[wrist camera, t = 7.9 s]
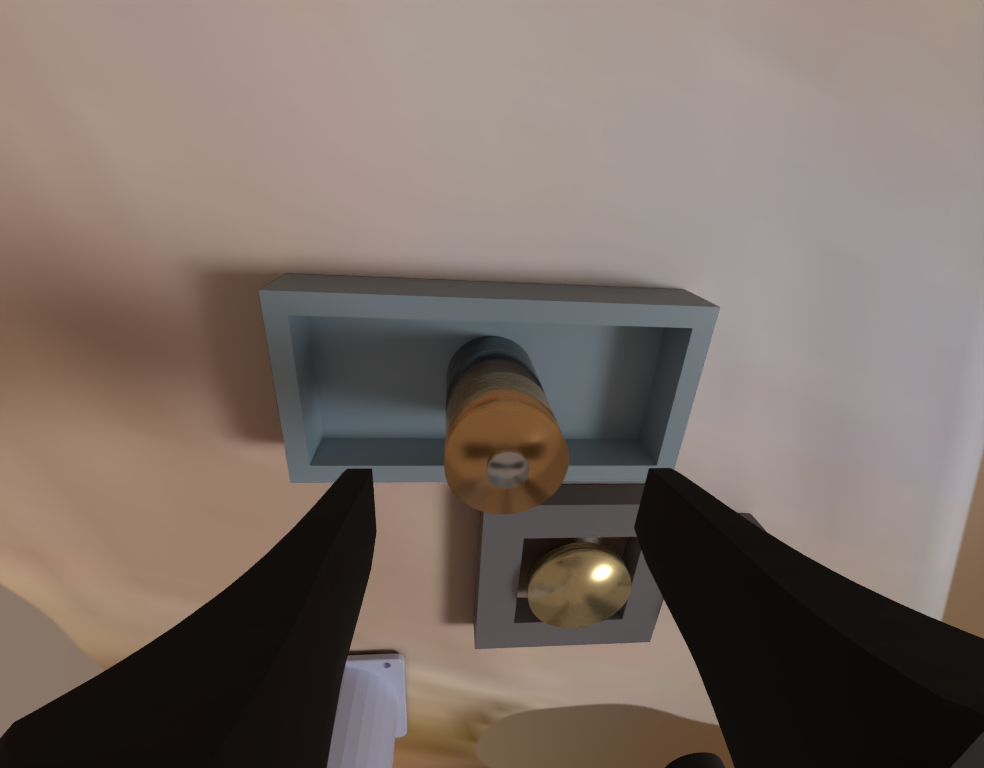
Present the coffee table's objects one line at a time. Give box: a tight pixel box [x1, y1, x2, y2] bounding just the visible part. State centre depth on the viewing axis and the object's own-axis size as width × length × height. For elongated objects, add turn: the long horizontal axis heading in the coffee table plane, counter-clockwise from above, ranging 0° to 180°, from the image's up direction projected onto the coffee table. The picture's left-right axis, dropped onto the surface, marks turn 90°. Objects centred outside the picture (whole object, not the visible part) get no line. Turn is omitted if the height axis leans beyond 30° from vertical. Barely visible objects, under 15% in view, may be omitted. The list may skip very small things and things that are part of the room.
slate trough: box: [258, 273, 720, 483], centre depth 18 cm, size 16×8×3 cm, turn 87°
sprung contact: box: [526, 542, 631, 628], centre depth 22 cm, size 5×5×1 cm
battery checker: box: [474, 484, 765, 649], centre depth 23 cm, size 14×10×3 cm
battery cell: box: [444, 336, 569, 514], centre depth 15 cm, size 4×4×6 cm
